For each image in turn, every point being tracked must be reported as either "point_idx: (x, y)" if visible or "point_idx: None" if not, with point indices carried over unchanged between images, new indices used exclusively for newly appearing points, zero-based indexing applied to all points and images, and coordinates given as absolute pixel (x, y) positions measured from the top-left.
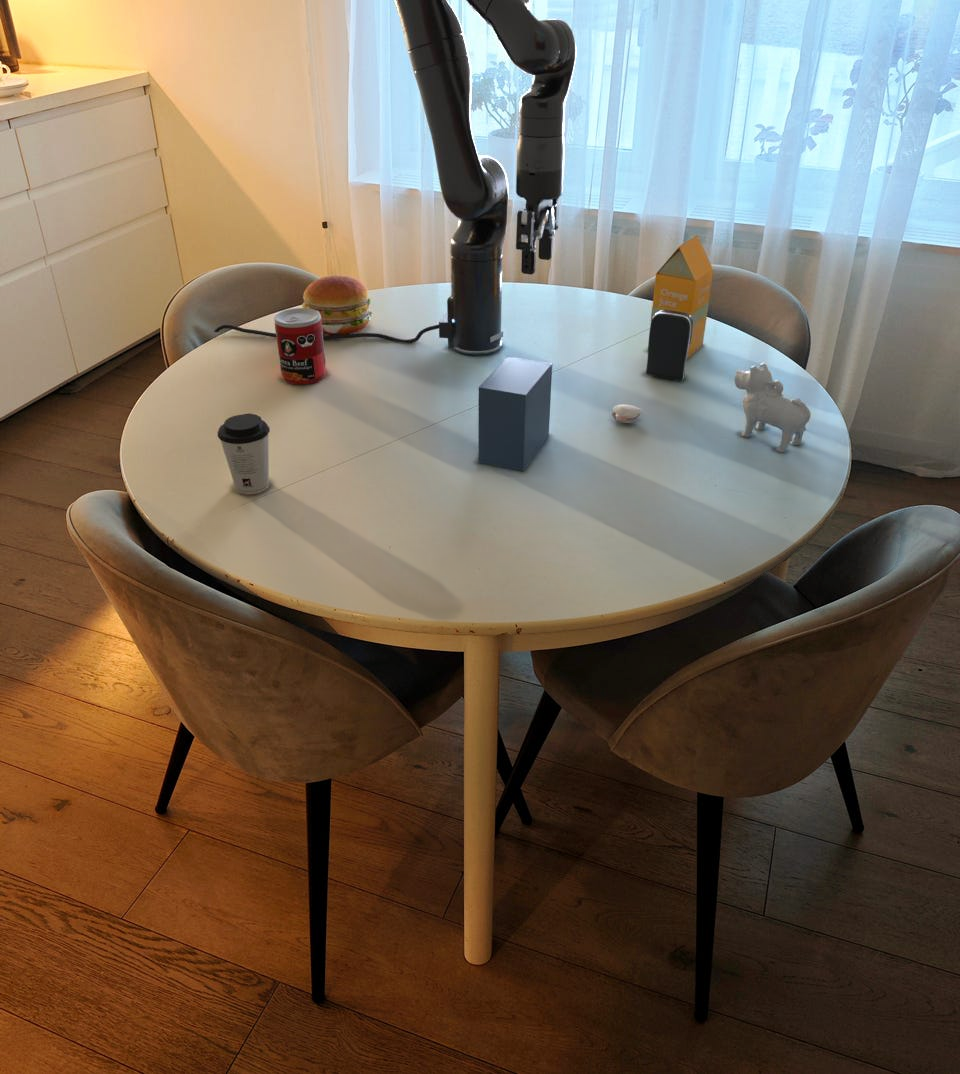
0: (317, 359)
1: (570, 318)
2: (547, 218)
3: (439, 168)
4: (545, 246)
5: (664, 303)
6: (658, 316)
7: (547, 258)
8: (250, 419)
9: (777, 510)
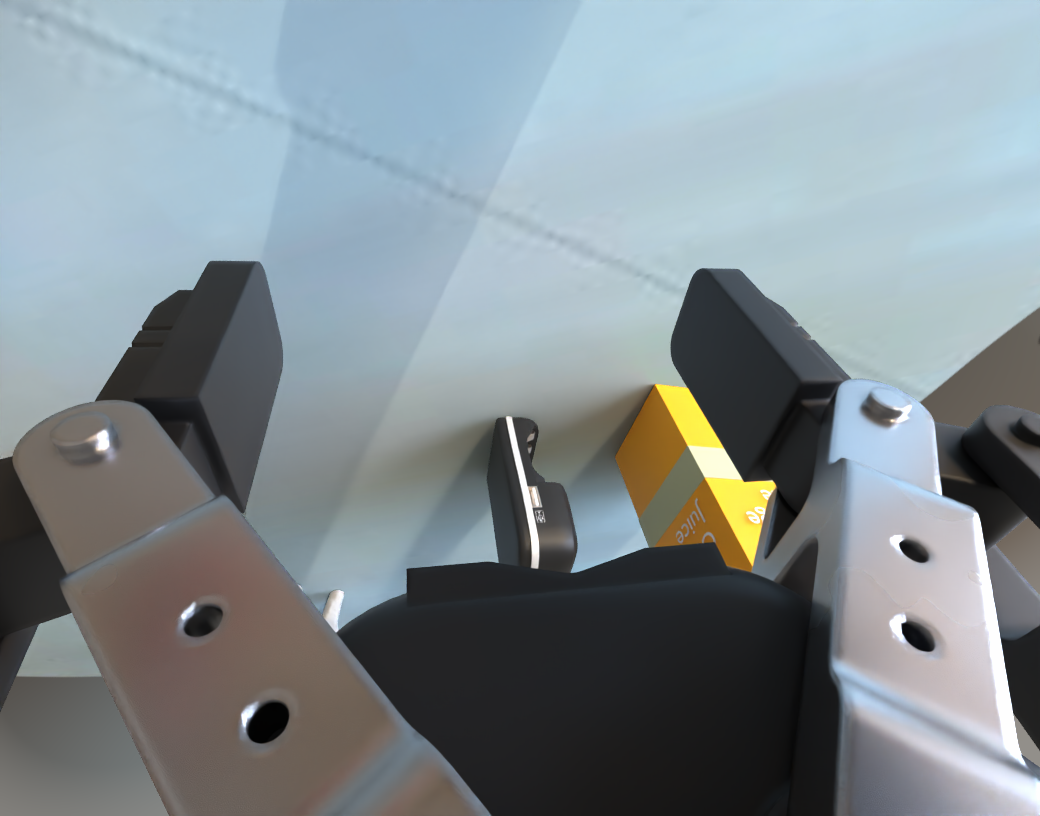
0: None
1: (963, 93)
2: None
3: None
4: (728, 381)
5: (694, 515)
6: (518, 562)
7: (676, 338)
8: None
9: (63, 652)
